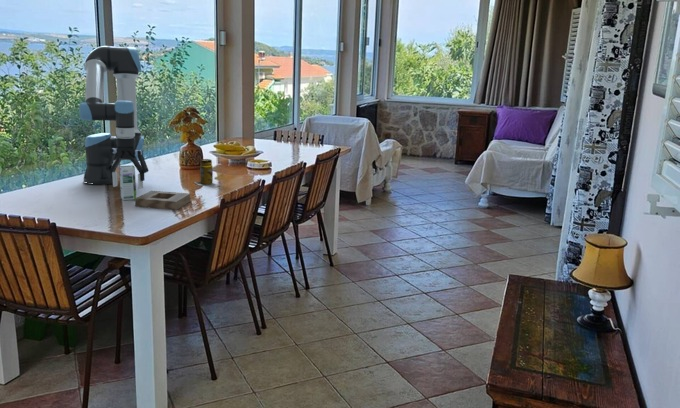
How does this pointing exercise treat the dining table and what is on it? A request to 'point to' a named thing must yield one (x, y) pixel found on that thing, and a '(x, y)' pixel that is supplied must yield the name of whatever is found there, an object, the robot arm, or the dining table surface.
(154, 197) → the walnut socket block
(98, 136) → the robot arm
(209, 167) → the condiment
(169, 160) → the dining table surface
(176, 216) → the dining table surface
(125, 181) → the syrup box
